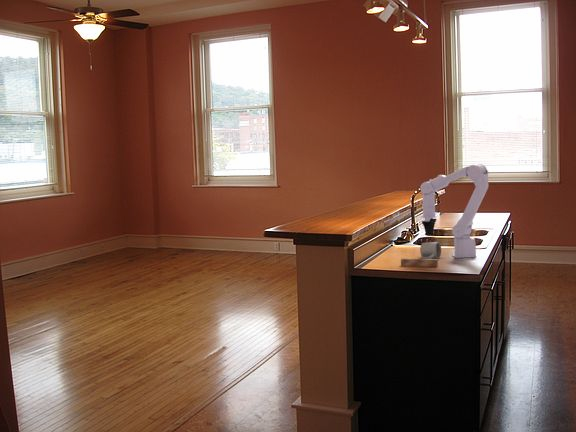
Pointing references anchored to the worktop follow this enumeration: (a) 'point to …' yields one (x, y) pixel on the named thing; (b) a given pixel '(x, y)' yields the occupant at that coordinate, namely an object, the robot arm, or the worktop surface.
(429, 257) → the ceramic mug
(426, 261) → the rail
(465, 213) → the robot arm
